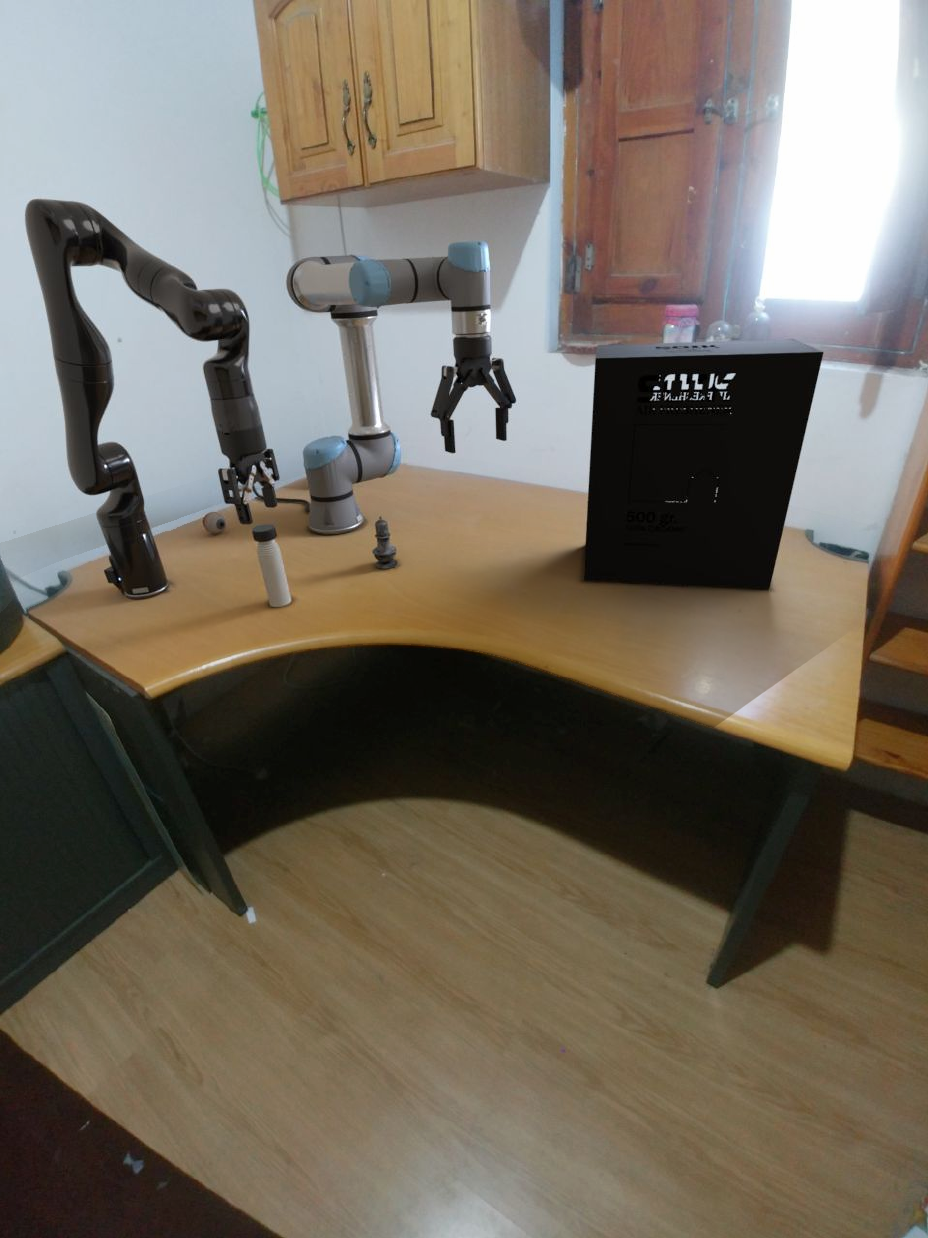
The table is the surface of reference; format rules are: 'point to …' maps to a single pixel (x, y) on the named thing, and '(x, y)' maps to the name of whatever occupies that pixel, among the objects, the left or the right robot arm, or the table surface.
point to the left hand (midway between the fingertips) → (259, 515)
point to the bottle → (273, 573)
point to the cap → (264, 532)
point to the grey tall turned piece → (384, 546)
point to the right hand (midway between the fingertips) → (476, 445)
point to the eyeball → (214, 522)
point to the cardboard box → (695, 460)
